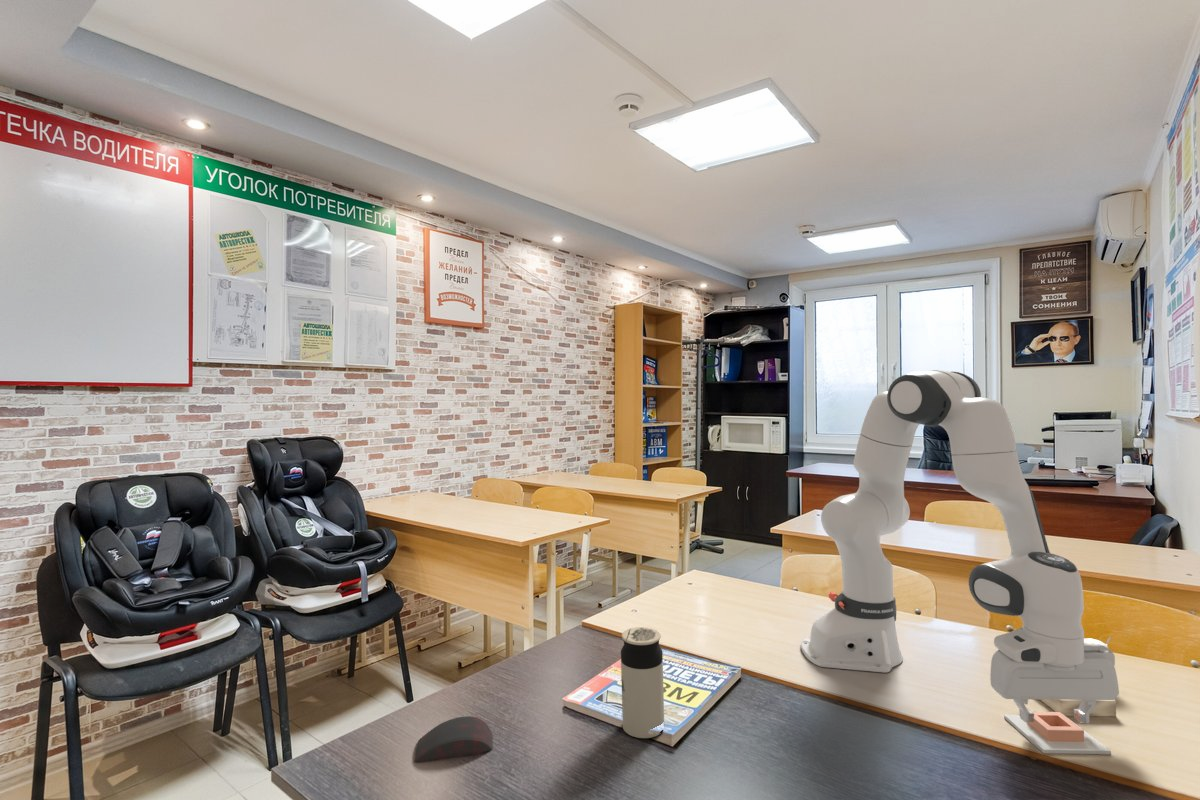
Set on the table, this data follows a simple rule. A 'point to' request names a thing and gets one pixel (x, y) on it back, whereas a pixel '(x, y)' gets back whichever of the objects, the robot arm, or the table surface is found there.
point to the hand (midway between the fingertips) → (1054, 720)
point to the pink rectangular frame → (1056, 727)
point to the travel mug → (642, 681)
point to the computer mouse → (455, 740)
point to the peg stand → (1069, 705)
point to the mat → (1060, 747)
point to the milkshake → (1095, 642)
